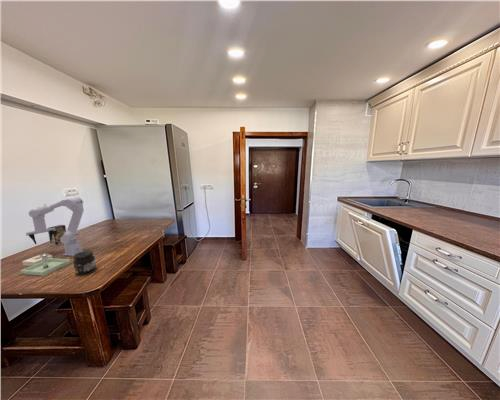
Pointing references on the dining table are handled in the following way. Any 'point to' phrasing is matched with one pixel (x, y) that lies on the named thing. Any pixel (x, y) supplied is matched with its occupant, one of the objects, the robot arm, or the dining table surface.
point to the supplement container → (84, 262)
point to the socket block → (34, 260)
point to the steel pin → (45, 260)
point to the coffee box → (57, 235)
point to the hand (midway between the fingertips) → (43, 242)
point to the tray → (41, 271)
